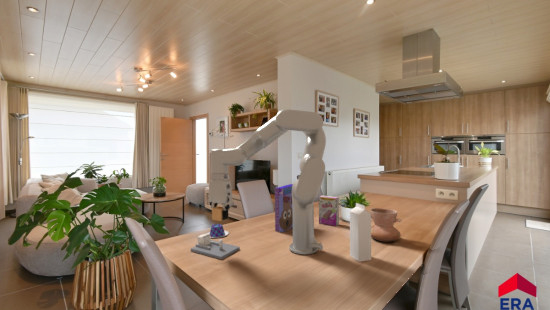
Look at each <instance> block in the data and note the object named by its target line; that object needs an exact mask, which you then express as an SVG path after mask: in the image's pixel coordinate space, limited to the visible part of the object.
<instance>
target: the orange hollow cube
mask: <svg viewBox="0 0 550 310" xmlns="http://www.w3.org/2000/svg"><path fill="white" fill-rule="evenodd" d="M222 211H223V206H222V205H218V206H217V207H214V208H212V209H211V220H213V221H218V222H222V221H224V220H223V219H222ZM228 219H229V213H228Z"/></svg>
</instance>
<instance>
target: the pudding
mask: <svg viewBox="0 0 550 310" xmlns="http://www.w3.org/2000/svg"><path fill="white" fill-rule="evenodd" d="M205 234H210V239H211V238H212V239H216V238H217V239H219V238H222V237H226V236H228V235H229V234H230V233H229V231H228V230H225V229H224V226H223V224H221V223H215V224H212V225H211V227H210V230H209V232H206V233H205Z"/></svg>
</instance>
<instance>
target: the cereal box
mask: <svg viewBox="0 0 550 310" xmlns="http://www.w3.org/2000/svg"><path fill="white" fill-rule="evenodd" d="M292 185H293V183H289V184H286V185H282V186H278V187H275V188H274V227H275V228H274V230H275V231H274V232H276V233H277V232H278V233H282V234H283V233H285V232H286V231H288V230H290V229H293V208H292Z"/></svg>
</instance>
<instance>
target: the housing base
mask: <svg viewBox="0 0 550 310" xmlns="http://www.w3.org/2000/svg"><path fill="white" fill-rule="evenodd" d="M223 241H224V239H222V238H221V239H218V241H216V240H212V239H210V244H209V245H207V246H205V245H201V244H198V243H195V246H193V247H191V248H190V252H193V253H195V254H200V255H202V256H203V255H204V256H207V257H210V258H214V259H219V260H224V259H225V258H227V257H228V256H230V255H233V254H234V253H235V252H238V251H239V250H241V249H240V248H241V247H240V246H238V245H234V244H231V243H225V242H223Z"/></svg>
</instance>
